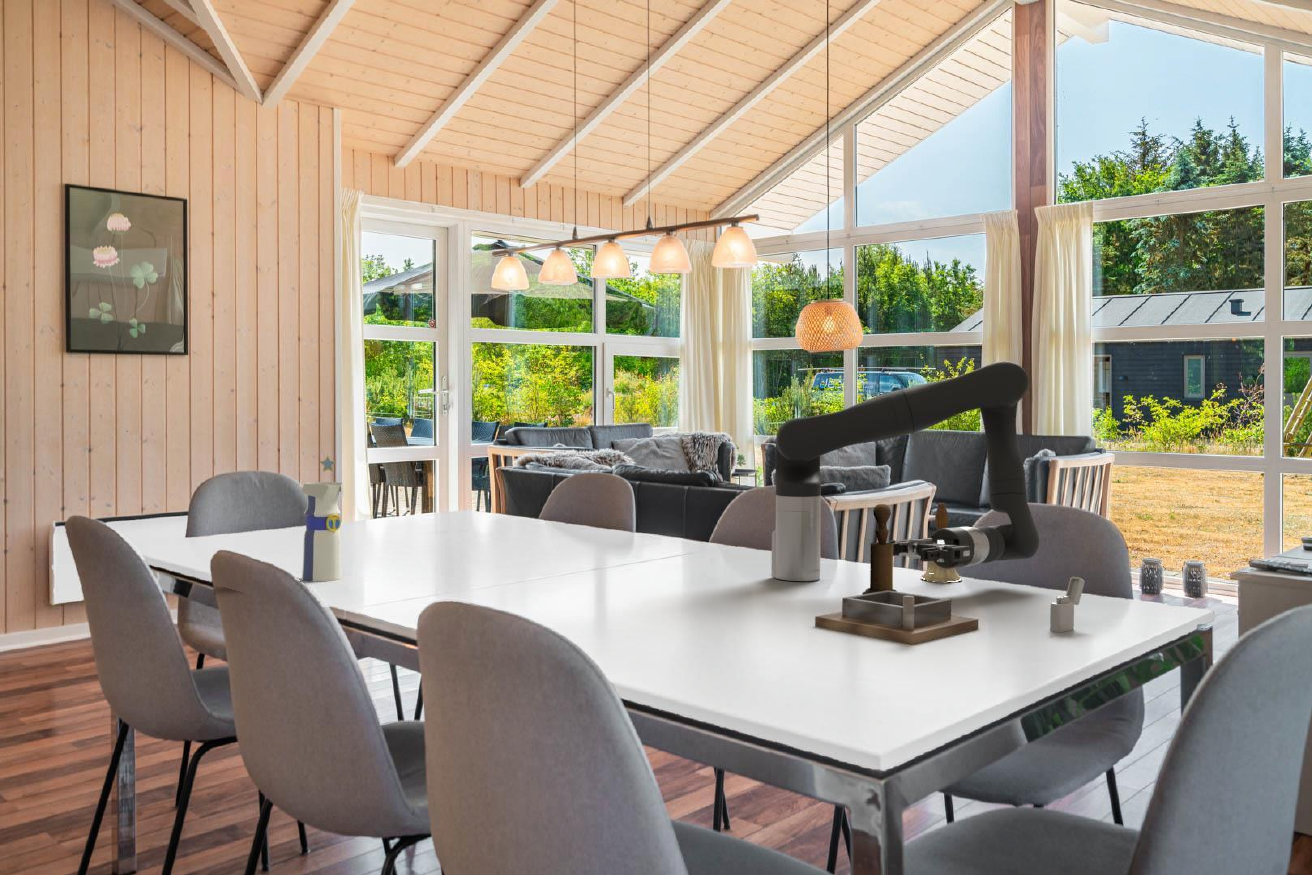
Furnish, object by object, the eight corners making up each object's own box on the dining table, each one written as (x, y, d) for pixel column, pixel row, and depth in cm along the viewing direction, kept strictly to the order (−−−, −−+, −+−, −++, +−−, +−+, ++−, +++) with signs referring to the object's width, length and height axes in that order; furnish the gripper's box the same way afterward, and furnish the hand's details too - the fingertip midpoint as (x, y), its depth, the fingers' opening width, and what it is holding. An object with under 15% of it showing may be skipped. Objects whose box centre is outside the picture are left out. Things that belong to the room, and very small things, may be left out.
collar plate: (815, 625, 165) (815, 584, 165) (883, 612, 177) (883, 574, 177) (911, 644, 152) (912, 599, 152) (978, 628, 164) (978, 587, 164)
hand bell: (961, 584, 210) (962, 505, 210) (919, 581, 213) (920, 503, 213) (963, 578, 218) (964, 502, 218) (922, 576, 221) (923, 501, 221)
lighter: (1059, 632, 161) (1060, 580, 161) (1049, 630, 163) (1050, 579, 163) (1084, 627, 166) (1085, 577, 166) (1074, 625, 167) (1074, 575, 167)
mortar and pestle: (898, 603, 186) (899, 503, 186) (902, 610, 180) (904, 505, 180) (860, 602, 187) (861, 502, 187) (863, 609, 180) (865, 505, 180)
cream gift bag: (354, 577, 212) (354, 454, 212) (320, 582, 205) (320, 455, 205) (326, 574, 217) (327, 454, 216) (292, 579, 210) (293, 454, 209)
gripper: (928, 524, 202) (872, 528, 192) (992, 530, 191) (935, 535, 181) (928, 562, 202) (872, 569, 192) (991, 571, 191) (935, 578, 181)
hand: (903, 552), depth 187 cm, fingers open, 8 cm apart
